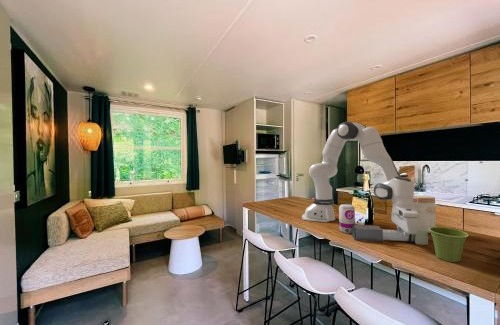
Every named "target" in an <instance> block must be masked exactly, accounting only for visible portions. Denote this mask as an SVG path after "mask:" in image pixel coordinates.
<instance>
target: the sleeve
mask: <svg viewBox="0 0 500 325" xmlns="http://www.w3.org/2000/svg"><path fill="white" fill-rule="evenodd" d="M382 229H383V228H381V227H380V226H379V225H367V224H366V225H365V224H364V225H363V224H355V225H352V233H351V237H352V238H353V240H354V241H362V242H364V241H365V242H380V243H381V242H384V240H383V230H384V229H383V230H382Z"/></svg>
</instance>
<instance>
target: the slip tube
mask: <svg viewBox="0 0 500 325" xmlns="http://www.w3.org/2000/svg"><path fill="white" fill-rule="evenodd" d="M381 229H382V230H383V241H398V242H408V243H413V242H414V243H415V234H409V239H404V238H403V235H404V230H398V229H383V228H381Z"/></svg>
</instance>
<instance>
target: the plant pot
mask: <svg viewBox="0 0 500 325" xmlns="http://www.w3.org/2000/svg"><path fill="white" fill-rule="evenodd" d="M429 230H430V231H431V233H430V235H431V236H432V242H433V246H434V251H435V252H434V253H435V256H436V257H437V258H438V259H441V260H443V261H446V262H450V263H458V262H460V261H461V259H462V258H461V257H462V254H463V250H464V245H465V242H466V241H467V238H468V237H469V234H468V233H467V232H465V231H463V230H459V229H455V228H452V227H451V228H450V227H444V226H443V227H442V226H436V227H430V228H429Z"/></svg>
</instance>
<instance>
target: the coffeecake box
mask: <svg viewBox="0 0 500 325" xmlns="http://www.w3.org/2000/svg"><path fill="white" fill-rule="evenodd" d="M413 202H414V208H415V209H416V211H417V212H418V213H419V217H417V219H418V226H420V227H421V228H423V229H425V230H426V231H428V234H429V233H430V234H431V231H430V230H429V228H430V227H437V224H436V220H437V219H436V197H435V196H430V195H427V194H426V195H414V197H413Z"/></svg>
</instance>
